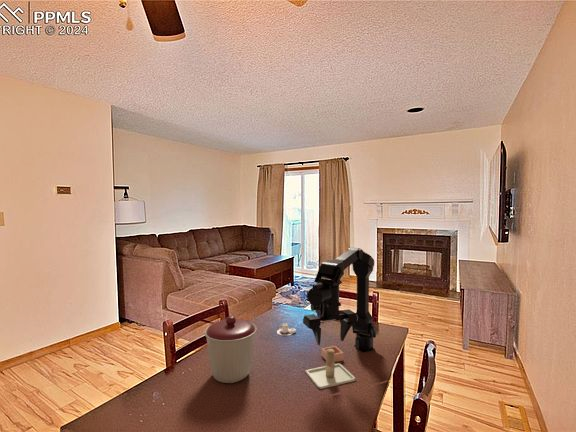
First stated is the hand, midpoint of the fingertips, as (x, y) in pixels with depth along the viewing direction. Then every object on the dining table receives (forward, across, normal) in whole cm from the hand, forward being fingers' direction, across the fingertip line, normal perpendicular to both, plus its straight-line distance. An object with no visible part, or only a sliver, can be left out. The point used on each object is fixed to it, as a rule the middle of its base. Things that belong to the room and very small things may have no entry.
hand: (330, 342), depth 109 cm
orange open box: (+12, -7, -11) cm, 18 cm away
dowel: (+12, 0, 0) cm, 12 cm away
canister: (+13, +32, -14) cm, 37 cm away
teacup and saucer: (+13, +1, -38) cm, 41 cm away
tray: (+12, 0, 0) cm, 12 cm away
